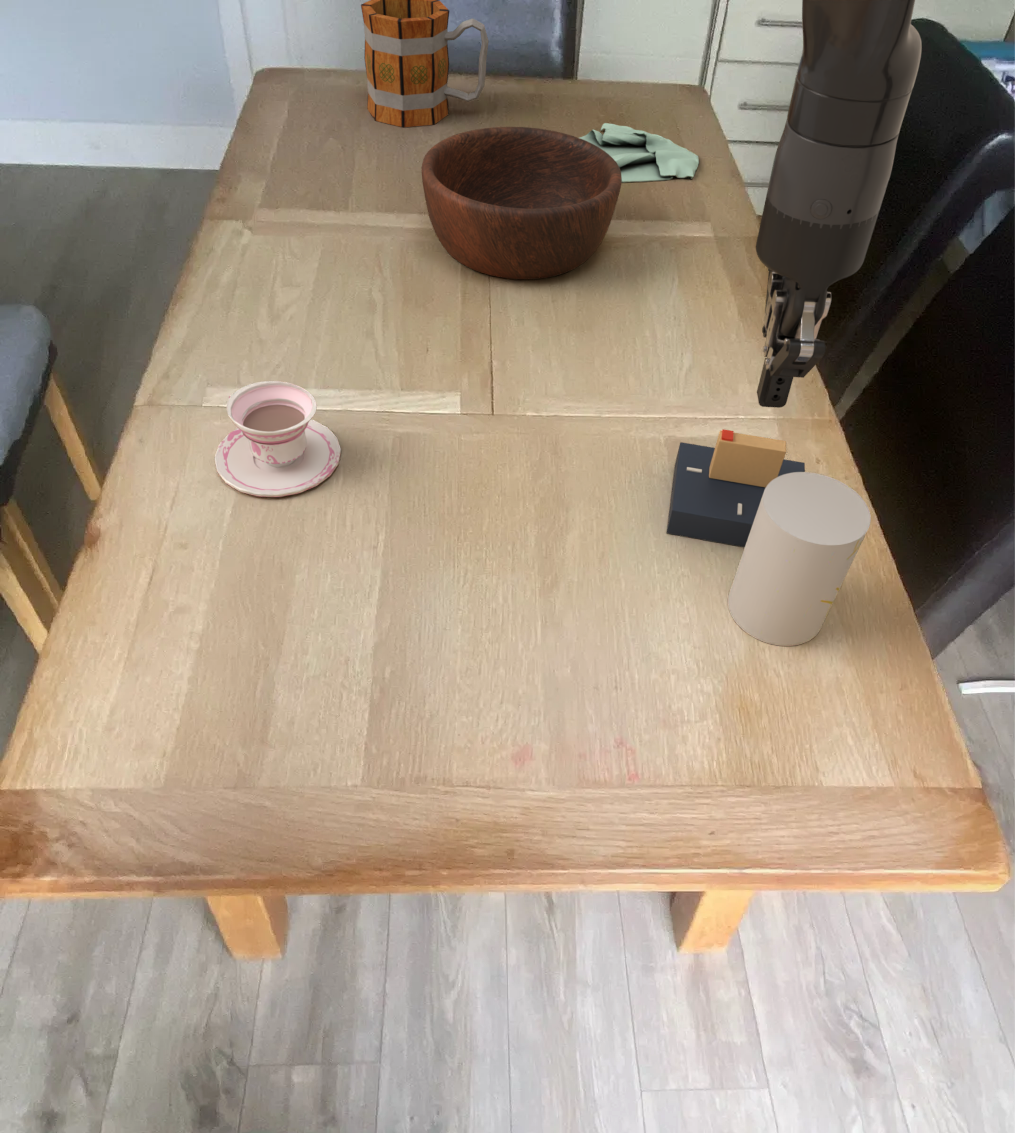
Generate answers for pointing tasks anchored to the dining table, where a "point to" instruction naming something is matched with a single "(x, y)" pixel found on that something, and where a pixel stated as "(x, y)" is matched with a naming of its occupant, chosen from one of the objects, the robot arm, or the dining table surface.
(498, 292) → the dining table surface
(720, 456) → the tan rectangular block
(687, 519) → the console
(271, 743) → the dining table surface
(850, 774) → the dining table surface
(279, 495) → the teacup
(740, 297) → the dining table surface
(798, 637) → the beige solid cylinder
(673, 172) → the cloth
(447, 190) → the wooden bowl
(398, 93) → the mug
